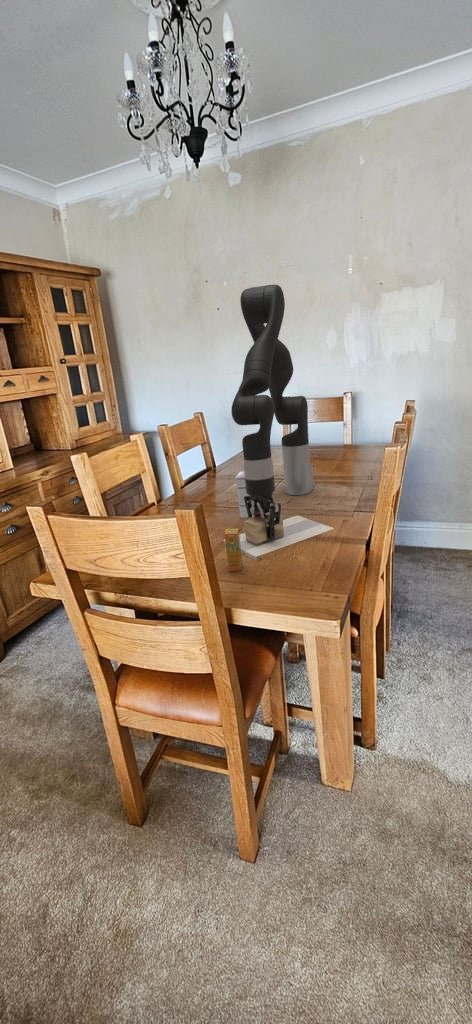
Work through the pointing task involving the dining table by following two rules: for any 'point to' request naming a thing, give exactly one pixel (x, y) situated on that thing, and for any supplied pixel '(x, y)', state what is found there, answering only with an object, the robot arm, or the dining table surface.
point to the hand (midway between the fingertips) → (264, 535)
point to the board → (293, 533)
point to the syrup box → (241, 494)
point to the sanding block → (261, 530)
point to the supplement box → (233, 549)
